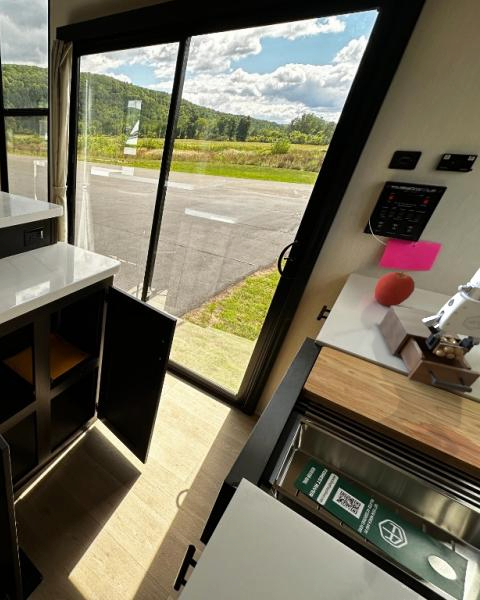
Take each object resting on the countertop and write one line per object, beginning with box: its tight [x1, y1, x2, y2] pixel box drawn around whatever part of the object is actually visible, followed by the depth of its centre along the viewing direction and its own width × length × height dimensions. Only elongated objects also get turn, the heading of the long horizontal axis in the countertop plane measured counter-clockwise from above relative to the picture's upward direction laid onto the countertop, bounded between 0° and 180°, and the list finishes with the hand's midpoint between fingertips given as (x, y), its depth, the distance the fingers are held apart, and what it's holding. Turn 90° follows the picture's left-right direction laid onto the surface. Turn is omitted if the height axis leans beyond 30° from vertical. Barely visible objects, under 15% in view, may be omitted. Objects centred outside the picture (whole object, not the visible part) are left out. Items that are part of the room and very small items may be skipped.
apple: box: [374, 271, 416, 307], centre depth 117 cm, size 10×10×14 cm
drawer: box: [399, 336, 480, 394], centre depth 88 cm, size 20×11×7 cm, turn 153°
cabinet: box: [378, 305, 463, 358], centre depth 99 cm, size 17×13×9 cm
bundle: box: [433, 335, 469, 361], centre depth 86 cm, size 8×6×3 cm
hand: (444, 349), depth 87 cm, fingers closed on bundle, 5 cm apart
